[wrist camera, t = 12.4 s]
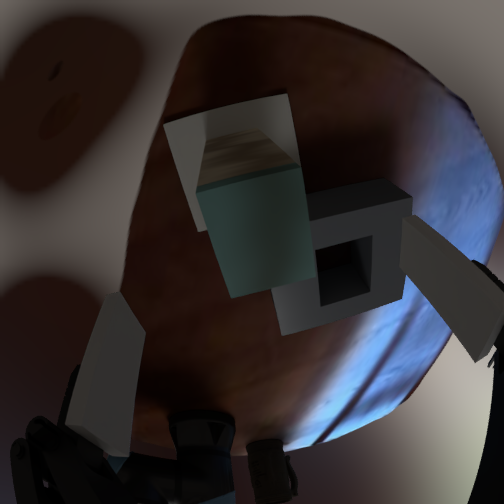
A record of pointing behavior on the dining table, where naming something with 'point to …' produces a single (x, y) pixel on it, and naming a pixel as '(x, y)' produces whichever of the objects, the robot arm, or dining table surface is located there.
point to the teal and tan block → (255, 212)
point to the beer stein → (271, 472)
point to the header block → (362, 255)
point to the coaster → (223, 123)
